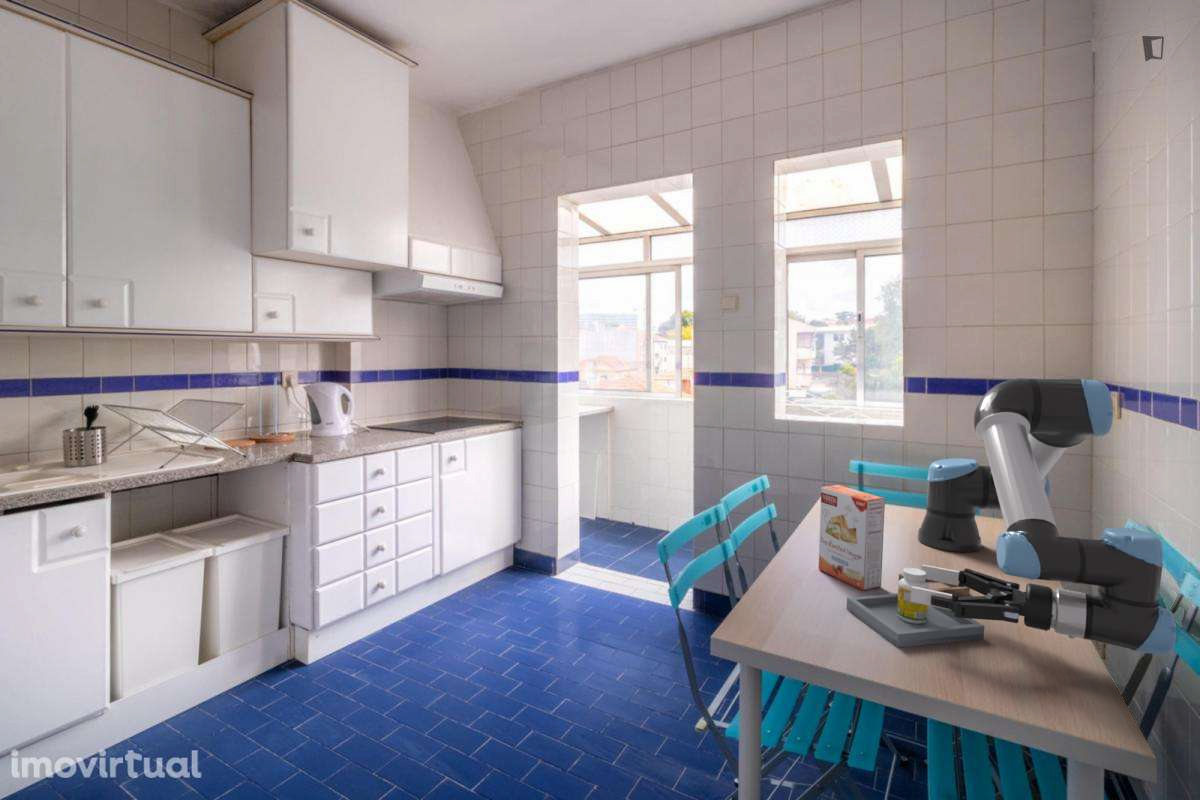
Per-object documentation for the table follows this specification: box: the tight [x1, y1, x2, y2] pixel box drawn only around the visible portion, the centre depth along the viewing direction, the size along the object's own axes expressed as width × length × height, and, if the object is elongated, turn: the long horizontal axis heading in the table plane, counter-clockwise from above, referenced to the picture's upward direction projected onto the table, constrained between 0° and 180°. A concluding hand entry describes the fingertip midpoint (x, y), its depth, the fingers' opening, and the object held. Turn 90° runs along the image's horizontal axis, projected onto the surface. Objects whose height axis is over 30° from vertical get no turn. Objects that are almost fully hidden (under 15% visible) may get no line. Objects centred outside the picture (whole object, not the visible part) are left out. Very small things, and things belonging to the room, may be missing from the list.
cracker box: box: [818, 484, 886, 591], centre depth 140 cm, size 14×6×21 cm, turn 23°
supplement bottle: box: [897, 567, 930, 624], centre depth 118 cm, size 5×5×10 cm
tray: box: [846, 593, 986, 648], centre depth 119 cm, size 18×16×2 cm
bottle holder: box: [898, 573, 971, 597], centre depth 136 cm, size 10×10×2 cm
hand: (916, 581), depth 117 cm, fingers open, 13 cm apart
